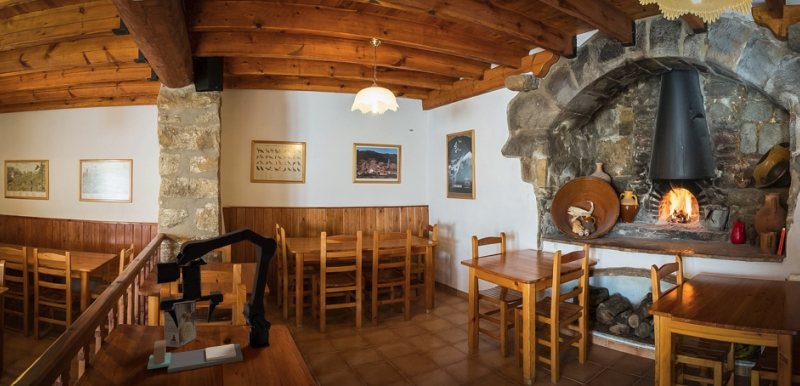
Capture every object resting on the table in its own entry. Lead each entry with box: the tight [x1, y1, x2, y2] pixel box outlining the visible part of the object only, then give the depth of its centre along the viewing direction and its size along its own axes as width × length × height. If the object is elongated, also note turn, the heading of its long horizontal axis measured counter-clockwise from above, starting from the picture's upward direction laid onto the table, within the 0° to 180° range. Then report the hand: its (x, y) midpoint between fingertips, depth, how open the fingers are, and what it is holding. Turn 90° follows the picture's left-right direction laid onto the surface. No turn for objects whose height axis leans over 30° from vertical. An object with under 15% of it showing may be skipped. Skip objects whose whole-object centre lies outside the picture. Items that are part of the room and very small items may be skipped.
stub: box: [147, 339, 172, 370], centre depth 135 cm, size 6×9×6 cm, turn 26°
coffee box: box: [163, 295, 197, 348], centre depth 154 cm, size 9×6×16 cm
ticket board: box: [167, 343, 244, 374], centre depth 141 cm, size 22×12×2 cm, turn 116°
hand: (193, 325), depth 141 cm, fingers open, 9 cm apart
